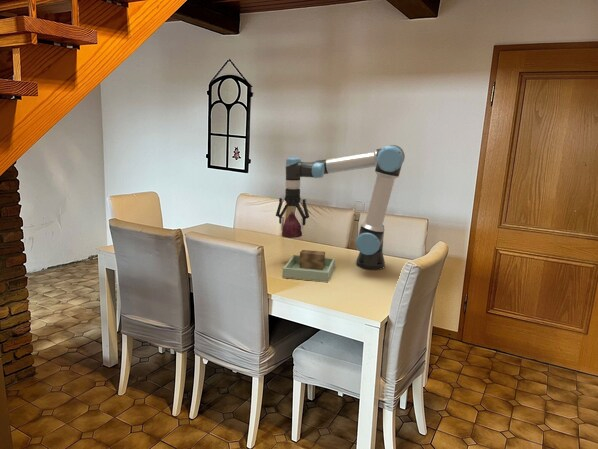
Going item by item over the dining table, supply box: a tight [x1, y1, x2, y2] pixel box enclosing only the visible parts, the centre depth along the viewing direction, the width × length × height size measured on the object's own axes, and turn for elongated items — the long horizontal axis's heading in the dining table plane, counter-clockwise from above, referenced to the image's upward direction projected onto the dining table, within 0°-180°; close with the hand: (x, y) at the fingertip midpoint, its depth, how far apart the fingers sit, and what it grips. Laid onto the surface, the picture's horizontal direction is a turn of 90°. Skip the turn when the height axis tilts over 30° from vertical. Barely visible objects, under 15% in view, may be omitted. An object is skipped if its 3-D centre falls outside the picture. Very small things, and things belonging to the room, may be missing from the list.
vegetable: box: [281, 210, 303, 239], centre depth 238 cm, size 10×10×15 cm
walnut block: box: [299, 249, 326, 270], centre depth 236 cm, size 12×6×8 cm, turn 78°
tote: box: [282, 254, 336, 284], centre depth 230 cm, size 22×24×5 cm
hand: (292, 230), depth 240 cm, fingers closed on vegetable, 10 cm apart
